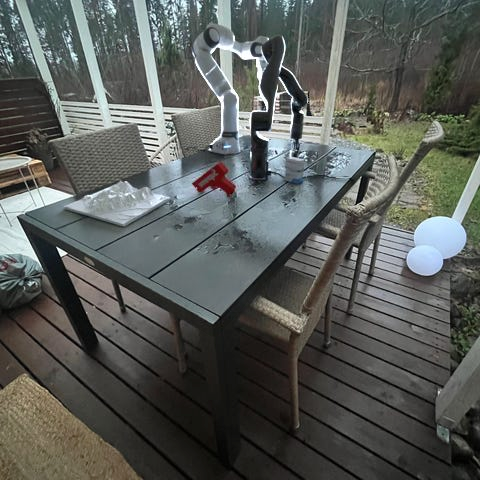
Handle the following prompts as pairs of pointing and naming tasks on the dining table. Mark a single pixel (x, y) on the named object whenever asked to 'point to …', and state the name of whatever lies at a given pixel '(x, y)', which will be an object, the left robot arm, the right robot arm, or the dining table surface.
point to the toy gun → (215, 180)
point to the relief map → (118, 203)
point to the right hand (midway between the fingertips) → (293, 157)
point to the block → (293, 153)
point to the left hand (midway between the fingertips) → (261, 86)
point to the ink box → (294, 170)
